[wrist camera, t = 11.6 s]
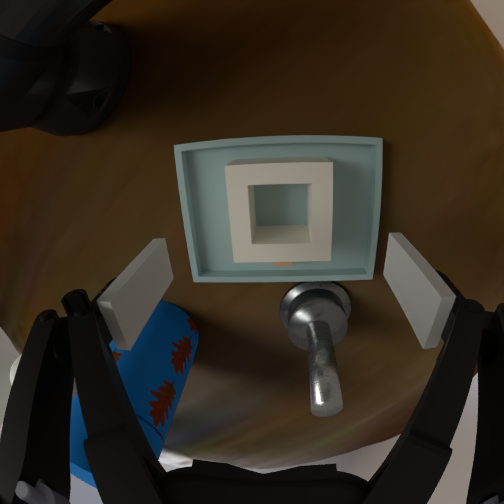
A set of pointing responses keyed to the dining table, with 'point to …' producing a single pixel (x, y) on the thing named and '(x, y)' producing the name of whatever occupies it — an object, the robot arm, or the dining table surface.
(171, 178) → the dining table surface
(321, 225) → the ring
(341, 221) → the tray
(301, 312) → the stake
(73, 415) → the thermos
